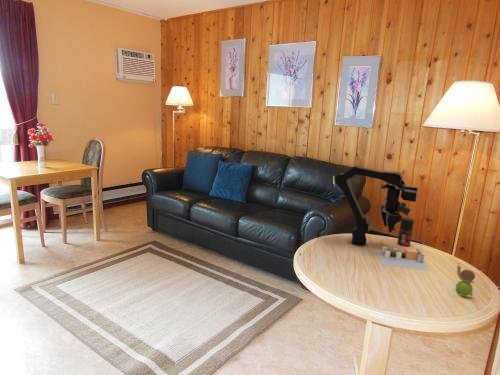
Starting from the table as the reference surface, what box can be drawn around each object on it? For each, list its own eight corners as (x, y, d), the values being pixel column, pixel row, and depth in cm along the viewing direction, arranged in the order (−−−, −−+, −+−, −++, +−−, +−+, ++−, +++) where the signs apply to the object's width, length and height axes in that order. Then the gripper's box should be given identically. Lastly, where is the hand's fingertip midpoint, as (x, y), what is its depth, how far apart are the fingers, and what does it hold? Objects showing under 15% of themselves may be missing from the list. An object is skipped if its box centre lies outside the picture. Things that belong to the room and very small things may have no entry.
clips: (384, 257, 157) (385, 251, 157) (381, 252, 164) (382, 246, 163) (400, 259, 156) (401, 253, 156) (397, 254, 163) (397, 248, 162)
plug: (385, 256, 158) (387, 248, 158) (384, 253, 162) (385, 245, 161) (417, 260, 157) (418, 252, 156) (414, 257, 160) (415, 249, 160)
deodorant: (397, 247, 174) (402, 219, 171) (396, 243, 180) (400, 216, 177) (410, 249, 173) (415, 221, 169) (408, 245, 178) (413, 218, 175)
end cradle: (417, 262, 155) (418, 255, 154) (411, 255, 162) (412, 248, 162) (422, 262, 154) (424, 255, 154) (417, 255, 162) (418, 248, 161)
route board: (382, 267, 150) (382, 265, 149) (373, 251, 167) (374, 249, 167) (429, 273, 147) (430, 270, 147) (416, 256, 164) (417, 254, 164)
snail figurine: (453, 288, 135) (459, 260, 132) (472, 294, 131) (478, 265, 128) (450, 293, 130) (456, 264, 128) (470, 299, 126) (476, 270, 124)
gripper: (416, 204, 151) (410, 237, 154) (404, 195, 169) (399, 224, 173) (390, 202, 153) (385, 235, 156) (381, 193, 171) (377, 222, 174)
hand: (387, 229), depth 165 cm, fingers open, 9 cm apart
